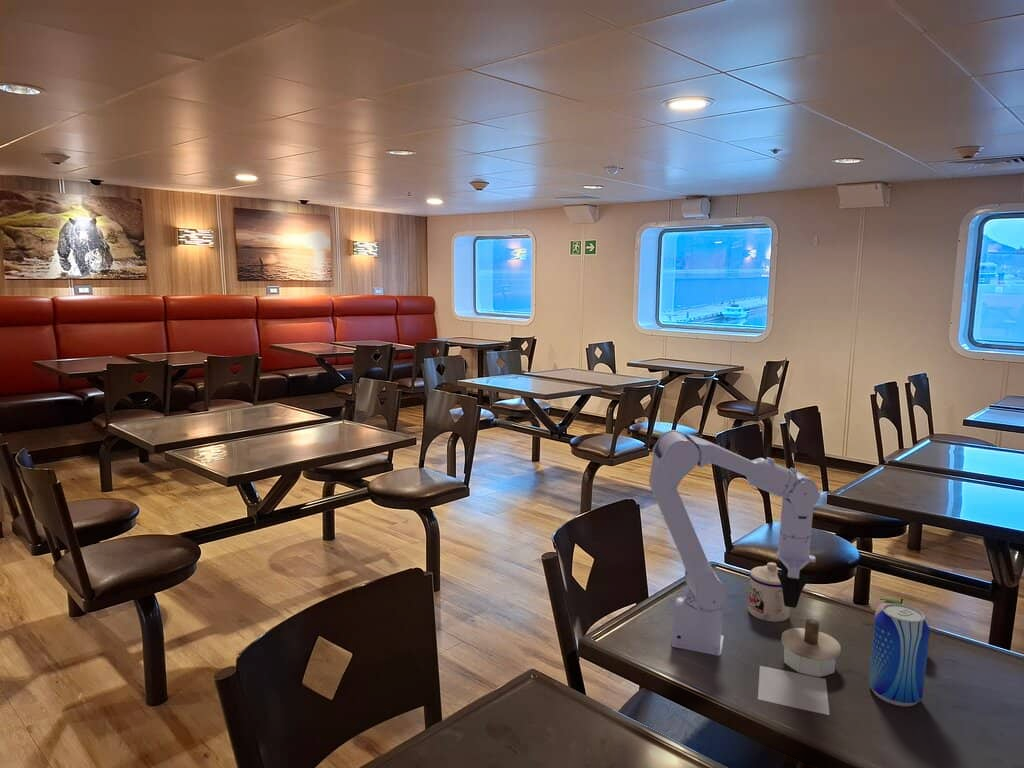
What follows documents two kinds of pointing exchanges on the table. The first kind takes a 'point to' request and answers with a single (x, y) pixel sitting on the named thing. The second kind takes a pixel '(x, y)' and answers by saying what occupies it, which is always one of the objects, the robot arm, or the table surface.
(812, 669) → the bowl
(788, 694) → the mat
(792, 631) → the lid
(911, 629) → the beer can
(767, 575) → the teacup with lid
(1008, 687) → the table surface
